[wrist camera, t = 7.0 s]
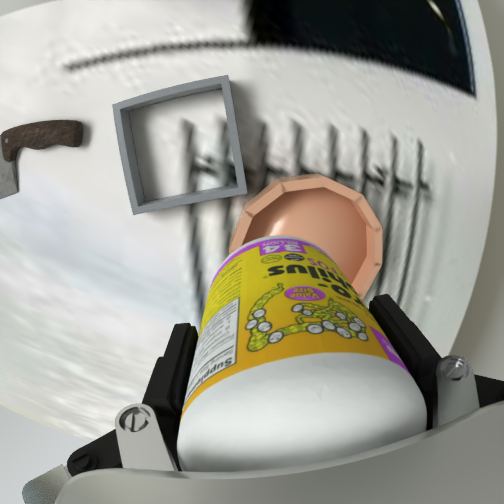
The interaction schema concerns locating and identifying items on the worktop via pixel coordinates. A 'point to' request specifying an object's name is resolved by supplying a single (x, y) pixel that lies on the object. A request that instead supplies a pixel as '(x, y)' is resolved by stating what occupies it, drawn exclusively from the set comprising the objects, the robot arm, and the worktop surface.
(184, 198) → the grey square frame
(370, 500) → the robot arm
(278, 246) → the supplement bottle
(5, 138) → the cleaver
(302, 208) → the bowl
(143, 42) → the worktop surface
